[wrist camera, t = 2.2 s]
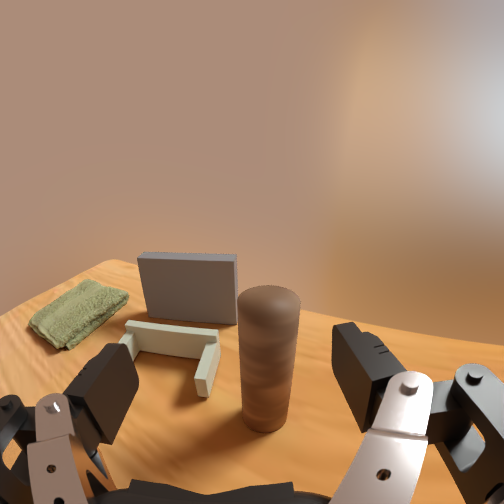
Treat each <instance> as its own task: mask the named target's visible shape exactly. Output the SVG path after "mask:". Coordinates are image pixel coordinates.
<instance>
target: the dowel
mask: <svg viewBox="0 0 504 504" xmlns="http://www.w3.org/2000/svg"><path fill="white" fill-rule="evenodd" d="M300 304H301V301H300V298H299V296H298V295H297V294H296V293H295V292H293V291H291V290H289V289H287V288H283V287H279V286H269V285H267V286H257V287H253V288H250V289H247V290H245V291H244V292H242V293H241V294H240V295H239V297H238V299H237V312H238V335H239V356H240V375H241V393H242V411H243V420H244V423H245V424H246V425H247V426H248V427H249V428H250V429H251V430H253V431H256V432H260V433H270V432H274V431H276V430H278V429H280V428H281V427H282V426H283V425H284V424H285V422H286V419H287V412H288V406H289V399H290V392H291V385H292V377H293V369H294V361H295V353H296V344H297V335H298V325H299V315H300Z"/></svg>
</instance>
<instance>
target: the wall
mask: <svg viewBox="0 0 504 504" xmlns="http://www.w3.org/2000/svg"><path fill="white" fill-rule="evenodd" d="M137 261H138V267H139V272H140V278H141V283H142V288H143V293H144V298H145V302H146V307H147V311H148V316H149V317H154V318H163V319H172V320H182V321H193V322H204V323H217V324H232V325H237V321H238V312H237V299H238V283H237V255H236V254H202V253H165V252H143V253H142V254H141V255H140V256H139V257H138V258H137Z"/></svg>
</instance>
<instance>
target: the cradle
mask: <svg viewBox="0 0 504 504" xmlns="http://www.w3.org/2000/svg"><path fill="white" fill-rule="evenodd" d="M125 328H126V333H125V334H124V335H123V337H122V338H121V339H120V341H119V342H118V343H124V344H126V345H127V347H128V349H129V352H130V355H131V357H132V360H134V359H135V357H136V356H137V354H138V352H139V351H140V350H141V351H147V352H153V353H159V354H165V355H172V356H180V357H187V358H196V359H201V360H200V363H199V365H198V368H197V371H196V374H195V377H194V381H195V385H196V390H197V394H198V396H200V397H208V398H209V396H210V392H211V388H212V385H213V381H214V377H215V374H216V370H217V367H218V363H219V359H220V356H221V351H220V342H219V331H218V330H216V329H204V328H193V327H182V326H173V325H164V324H156V323H148V322H141V321H134V320H128V321H127V323H126V324H125Z"/></svg>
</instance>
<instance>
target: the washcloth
mask: <svg viewBox="0 0 504 504" xmlns="http://www.w3.org/2000/svg"><path fill="white" fill-rule="evenodd" d="M128 298H129V295H128V292H126V291H123V290H120V289H115V288H111V287H105V286H102V285H101V284H100V283H98V282H96V281H93V280H89V279H86V280H83V281H82V282H81V283H79V284H78V285H77V286H76V287H75V288H73V289H71V290H69V291H67V292H66V293H64V294H63V295H62V296H60V297H59V298H58V299H56V300H55V301H53V302H52V303H50V304H49V305H47V306H46V307H44V308H42V309H40V310H39V311H38V312H36V313H35V314H34V315H33V317H32V318H31V319H30V321H29V323H28V325H29V326H30V327H32V328H33V330H34V331H35V332H36V333H37V334H38V335H39V336H41V337H42V338H44V339H45V340H46V341H48V342H49V343H51V344H52V345H53V346H54V347H55V348H56V349H59V348H60V347H61V348H63V347H64V346H65V347H66V348H67V349H68V350H71V349H73V348H74V347H75V346H76V345H77V344H79V343H80V342H81V341H82V340H83V339H84V338H86V337H87V336H88V335H89V334H91V333H92V332H93V331H94V330H96V329H97V327H99V326H100V325H101V324H103V322H105V321H106V320H107V319H108V318H110V317H111V316H112V315H113V314H114V313H115V312H117V311H118V310H119V309H121V308H122V307H123V306H124V305H125V304H127V301H128Z"/></svg>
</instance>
